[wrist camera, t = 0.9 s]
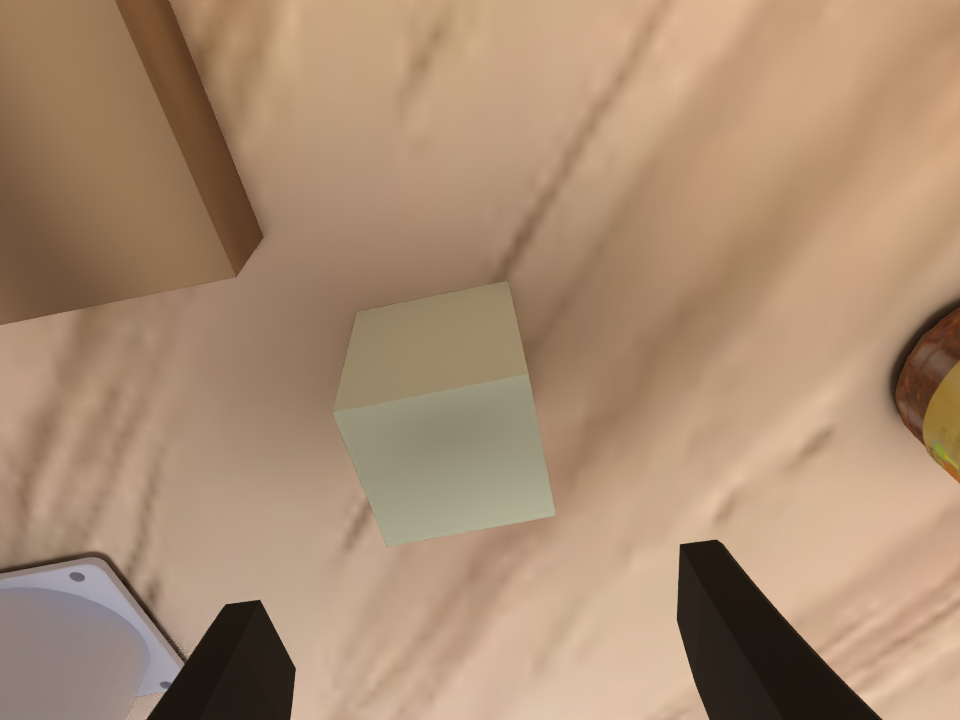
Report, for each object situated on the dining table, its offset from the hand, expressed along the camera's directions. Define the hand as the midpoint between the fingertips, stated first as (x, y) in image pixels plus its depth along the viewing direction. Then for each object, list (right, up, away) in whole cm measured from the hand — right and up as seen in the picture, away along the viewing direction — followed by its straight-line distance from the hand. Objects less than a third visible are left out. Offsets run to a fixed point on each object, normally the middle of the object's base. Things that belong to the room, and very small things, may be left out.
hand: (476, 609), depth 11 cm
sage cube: (-1, +4, +9) cm, 10 cm away
